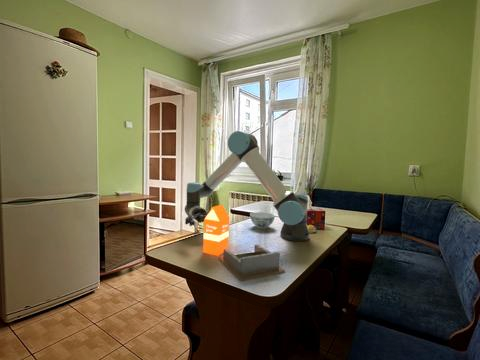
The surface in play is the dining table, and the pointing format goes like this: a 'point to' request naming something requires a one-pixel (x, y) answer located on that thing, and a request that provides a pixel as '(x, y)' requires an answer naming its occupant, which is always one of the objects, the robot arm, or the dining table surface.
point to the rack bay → (252, 263)
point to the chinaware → (262, 219)
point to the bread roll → (311, 228)
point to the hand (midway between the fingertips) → (212, 223)
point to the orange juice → (216, 231)
